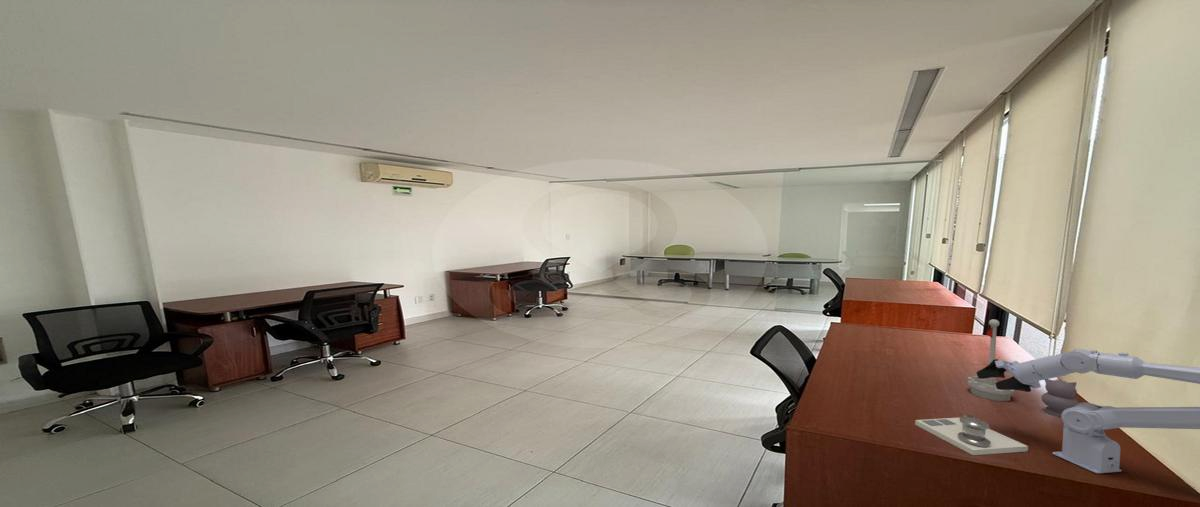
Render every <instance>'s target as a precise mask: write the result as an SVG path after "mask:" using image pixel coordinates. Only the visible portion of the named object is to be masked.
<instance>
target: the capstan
mask: <svg viewBox="0 0 1200 507" xmlns="http://www.w3.org/2000/svg"><path fill="white" fill-rule="evenodd" d="M959 418H960V422H961V423H962V424H963V425H962V432H960V433H958V437H959V438H960V439H961V440H963V441H965V442H967V443H970V444H973V445H977V446H985V447H986V446H990V445H991V442H990V441H989V440H988V439H986V438H985V433H986V429H990V424H989V423H988V422H986V421H984V420H983V419H980V418H976V417H974V415H972V414H968V413H966V414H965V415H963V416H961V417H959Z"/></svg>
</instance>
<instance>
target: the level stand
mask: <svg viewBox="0 0 1200 507" xmlns="http://www.w3.org/2000/svg"><path fill="white" fill-rule="evenodd" d="M914 425H915V426H917V427H919V428H920V429H923V430H924V431H927V432H928V433H930V434H932V435H934V436H936V437H938V438H939V439H941V440H943V441H946V442H947V443H948V444H951V445H953V446H955V447H956V448H959V449H961V451H965V452H966V453H967V454H970V455H972V456H980V455H981V456H983V455H995V454H996V455H998V454H1010V453H1021V452H1022V453H1023V452H1026V453H1027V452H1028V451H1029V446H1028V445H1026V444H1024V443H1022V442H1020V441H1017V440H1015V439H1013V438H1011V437H1009V436H1006V435H1004V434H1002V433H999V432H998V431H995V430H993V429H991V428H989V429H986V433H985V438H986V439H988V440H989V441H990V442H991V445H990V446H986V447H985V446H977V445H973V444H970V443H967V442H965V441H963V440H961V439H960V438H959V437H958V433H960V432H962V425H963V424H962V423H961V422H960V417H947V418H945V417H944V418H932V419H931V418H929V419H928V418H927V419H915V420H914Z"/></svg>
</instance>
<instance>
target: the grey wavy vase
mask: <svg viewBox="0 0 1200 507" xmlns="http://www.w3.org/2000/svg"><path fill="white" fill-rule="evenodd" d="M1044 382H1045V390H1046V392H1044V393H1043V394H1042V395H1041V397H1040V398H1041V402H1042V403H1044V405H1045V406H1046V407H1045V413H1046V414H1049V415H1051V416H1054V417H1057V418H1061V419H1062V417H1061V415H1062V412H1063V411H1064V410H1066V409H1068V408H1072V407H1074V406H1076V405H1077V404H1079V402H1078V400H1077V399H1076V398H1075V397H1076V396H1077V394H1078V392H1077V389H1076V386H1077V382H1076V381H1075V382H1073V381H1072V382H1071V381H1070V382H1067V381H1064V380H1059V379H1053V380H1052V379H1045V380H1044Z"/></svg>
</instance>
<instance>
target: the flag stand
mask: <svg viewBox="0 0 1200 507" xmlns="http://www.w3.org/2000/svg"><path fill="white" fill-rule="evenodd" d="M988 325H989V326H990V329H989V330H988V331H987V332H986V333H985V334H986V335H987V336H989V338H990V341H989V342H990V343H989V357H988V358H989V361H988V365H989V364H990V363H991V362H992V361H993V360H995V359H996V350H997V349H996V346H997V329H998V328H997V327H999V326H1000V321H999V320H998V319H993V318H992V319H990V320H989V321H988ZM996 378H997V377H991V378H984V379H979V378H978V376H977V375H972V376H968V377H967V384H968V386H969V387H970V392H971V394H973V395H975V396H977V397H980V398H983V399H988V400H991V401H998V402H1008V401H1011V397H1012V396H1011V395H1014V394H1015V393H1016V390H999V389H997V387H996V384H995V383H996V382H997V381H996V380H997V379H996Z"/></svg>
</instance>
